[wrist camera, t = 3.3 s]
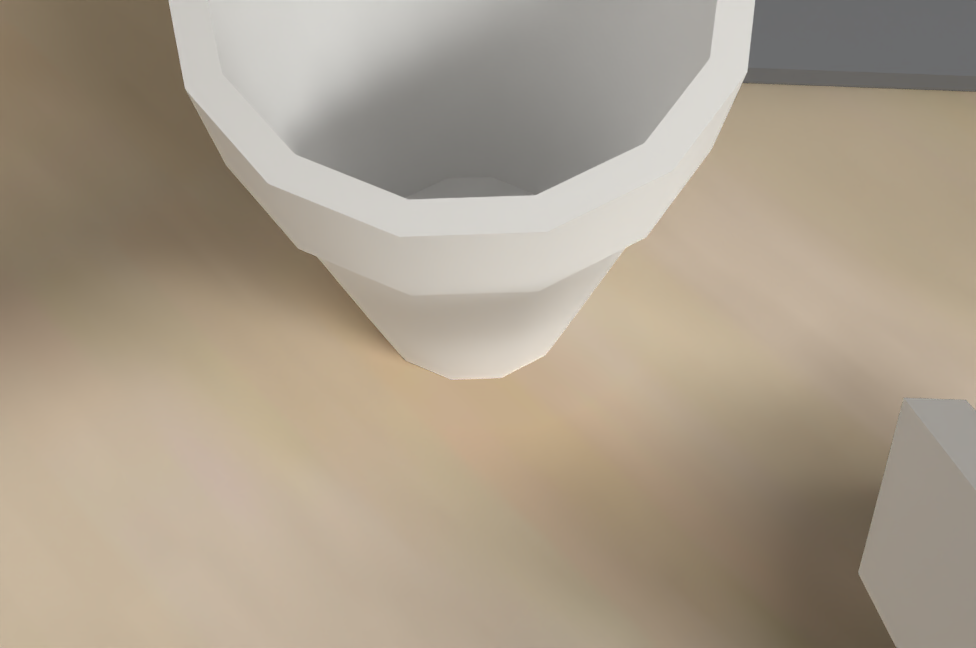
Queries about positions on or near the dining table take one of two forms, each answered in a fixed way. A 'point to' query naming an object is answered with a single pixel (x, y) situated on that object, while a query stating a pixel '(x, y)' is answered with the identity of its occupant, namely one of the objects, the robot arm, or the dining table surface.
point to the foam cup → (464, 147)
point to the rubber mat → (865, 43)
